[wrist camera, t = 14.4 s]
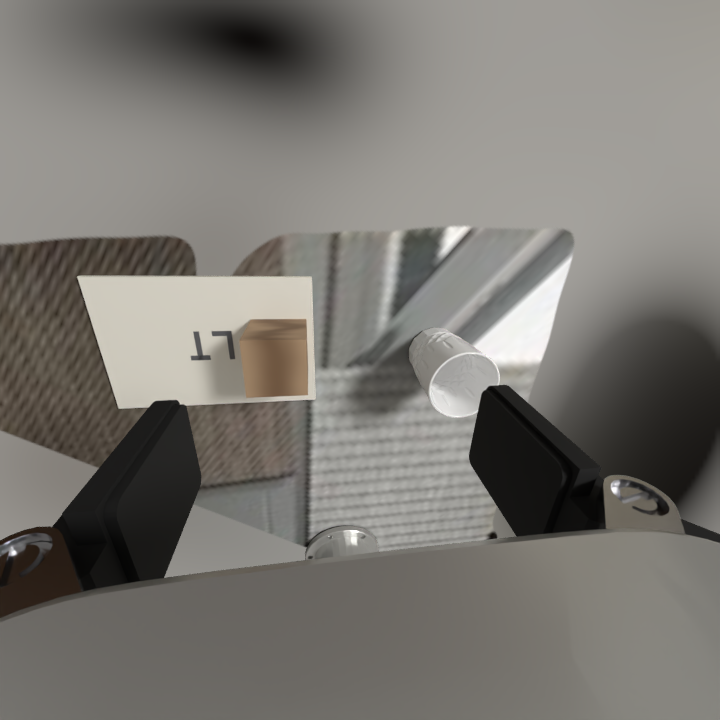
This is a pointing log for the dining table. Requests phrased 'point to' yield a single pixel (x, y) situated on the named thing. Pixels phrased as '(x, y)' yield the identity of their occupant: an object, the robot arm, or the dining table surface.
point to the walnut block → (275, 357)
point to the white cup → (451, 371)
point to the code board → (188, 333)
